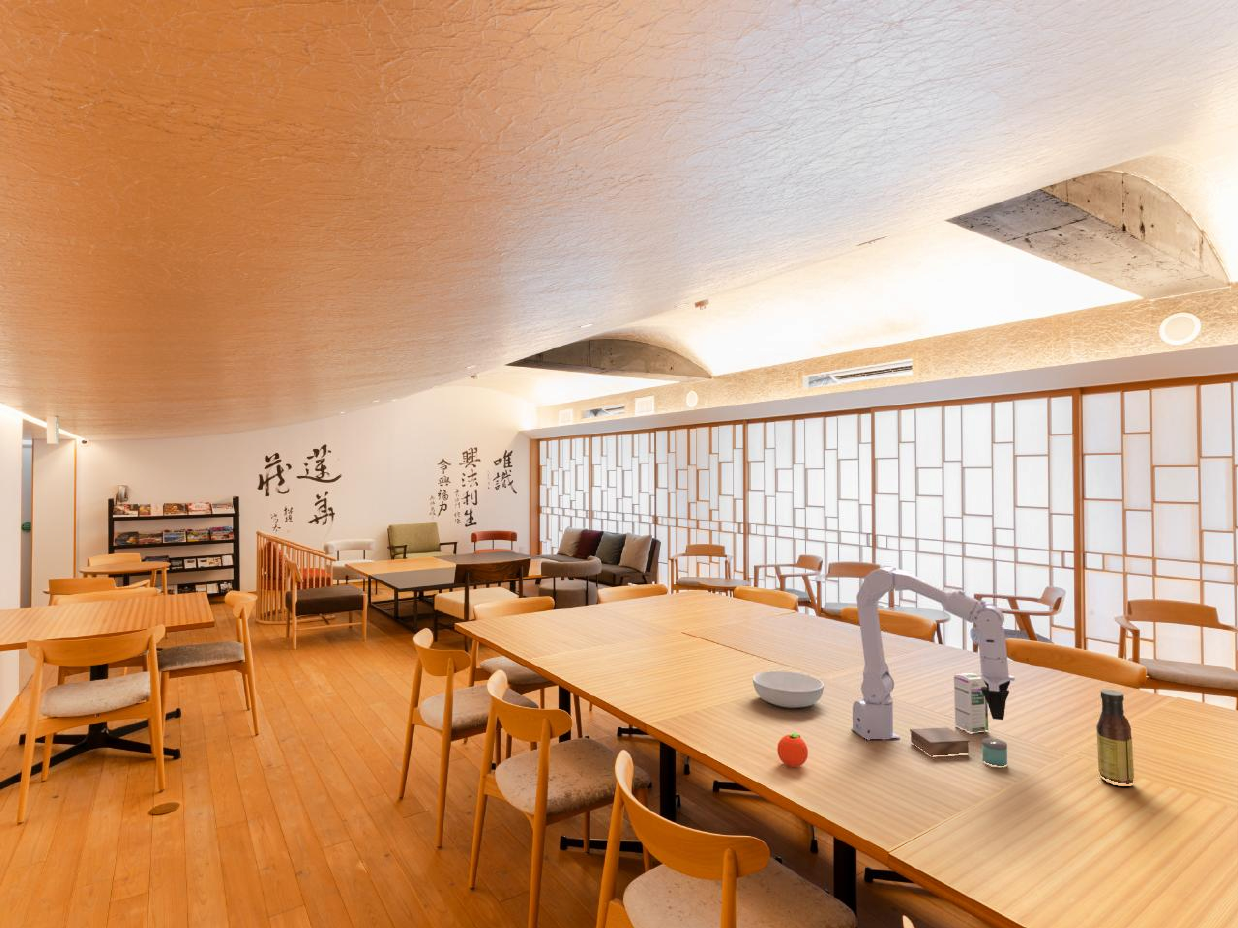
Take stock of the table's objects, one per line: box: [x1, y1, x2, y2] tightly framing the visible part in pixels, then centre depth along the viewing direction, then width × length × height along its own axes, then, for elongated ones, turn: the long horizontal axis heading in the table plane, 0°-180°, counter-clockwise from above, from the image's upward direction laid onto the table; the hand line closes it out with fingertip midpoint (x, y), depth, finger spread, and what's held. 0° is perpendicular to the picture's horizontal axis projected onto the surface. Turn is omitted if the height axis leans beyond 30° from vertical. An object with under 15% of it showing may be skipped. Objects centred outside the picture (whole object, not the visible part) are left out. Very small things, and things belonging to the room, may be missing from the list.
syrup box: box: [953, 672, 989, 732], centre depth 171 cm, size 6×6×14 cm
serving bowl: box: [752, 670, 825, 709], centre depth 191 cm, size 21×21×7 cm
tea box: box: [909, 727, 971, 756], centre depth 157 cm, size 10×8×4 cm
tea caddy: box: [981, 737, 1008, 766], centre depth 150 cm, size 5×5×5 cm
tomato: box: [776, 733, 809, 768], centre depth 148 cm, size 8×7×7 cm
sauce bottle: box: [1096, 689, 1135, 784], centre depth 141 cm, size 7×6×20 cm
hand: (998, 714), depth 151 cm, fingers open, 7 cm apart
